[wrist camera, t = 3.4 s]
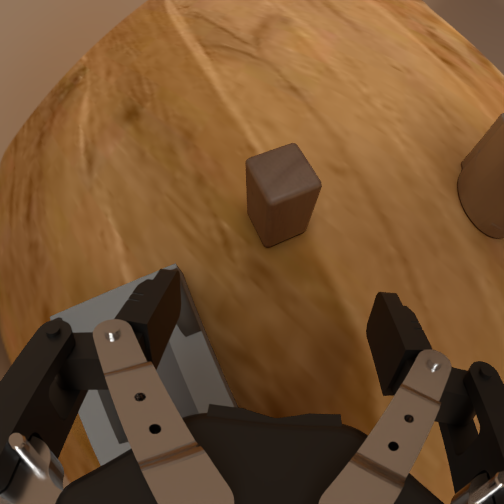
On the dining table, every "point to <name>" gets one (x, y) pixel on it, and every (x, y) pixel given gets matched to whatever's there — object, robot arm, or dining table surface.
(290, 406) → the dining table surface
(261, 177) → the wooden block
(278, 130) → the dining table surface
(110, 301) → the chassis
